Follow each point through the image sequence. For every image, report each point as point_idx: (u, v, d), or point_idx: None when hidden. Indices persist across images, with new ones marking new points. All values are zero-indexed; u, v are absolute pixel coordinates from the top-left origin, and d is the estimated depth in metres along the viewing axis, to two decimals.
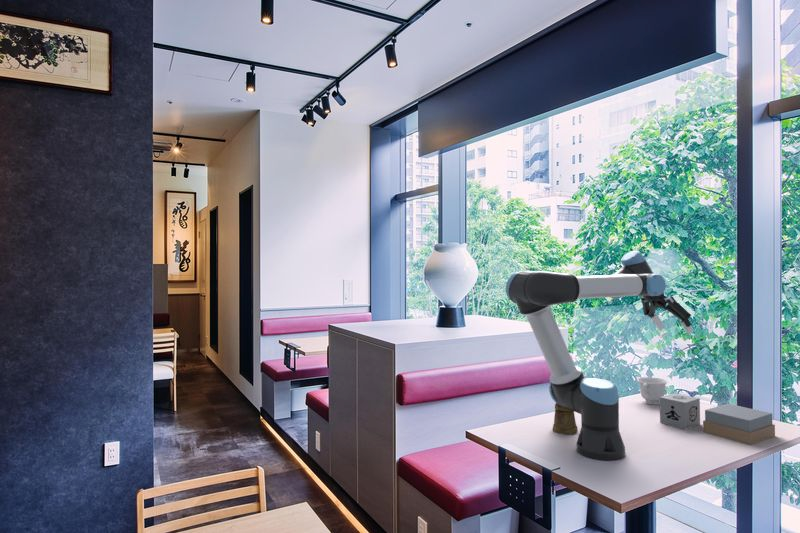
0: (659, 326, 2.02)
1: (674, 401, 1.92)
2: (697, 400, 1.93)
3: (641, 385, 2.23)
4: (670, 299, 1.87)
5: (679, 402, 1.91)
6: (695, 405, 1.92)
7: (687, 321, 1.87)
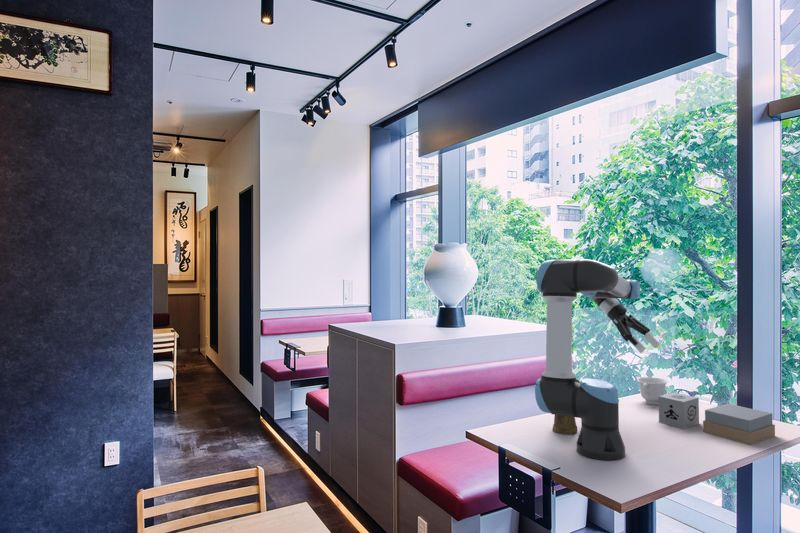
0: None
1: (672, 400, 1.93)
2: (696, 399, 1.94)
3: (641, 385, 2.23)
4: None
5: (677, 401, 1.92)
6: (694, 404, 1.93)
7: None
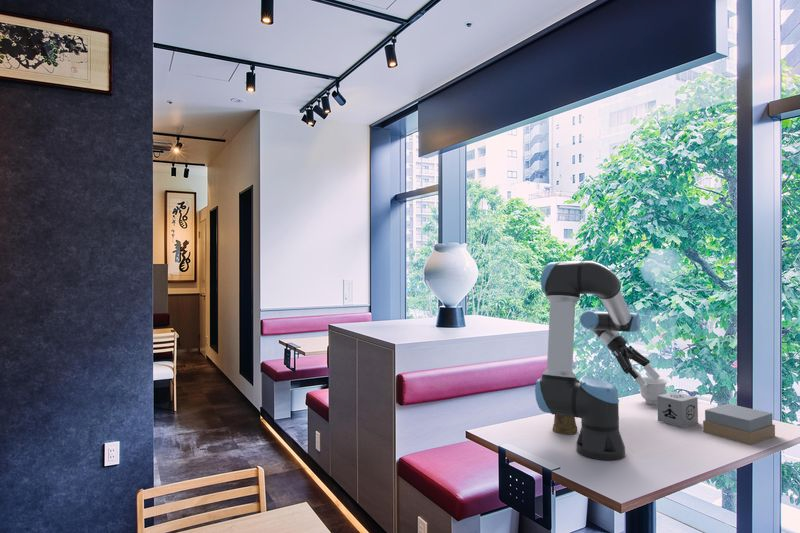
0: None
1: (671, 399, 1.94)
2: (695, 399, 1.95)
3: None
4: None
5: (676, 401, 1.93)
6: (692, 404, 1.94)
7: None
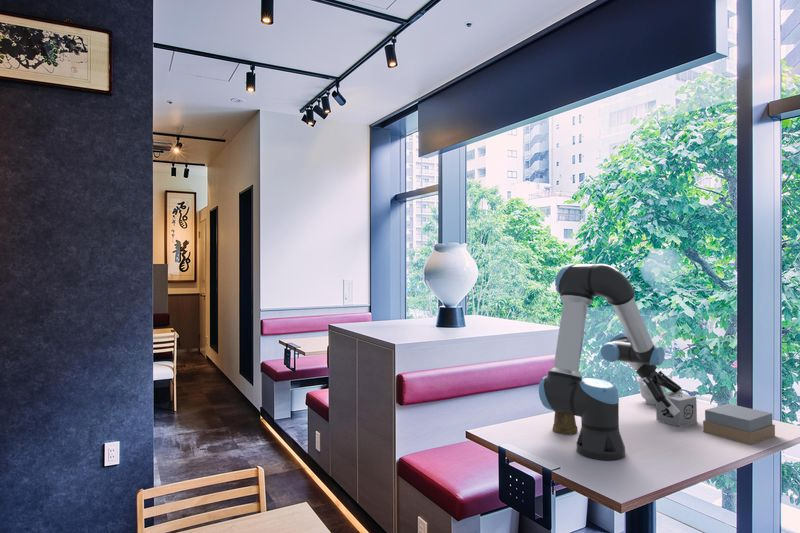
0: None
1: (669, 399, 1.95)
2: (693, 398, 1.95)
3: (641, 385, 2.23)
4: None
5: (673, 400, 1.94)
6: (691, 403, 1.95)
7: None
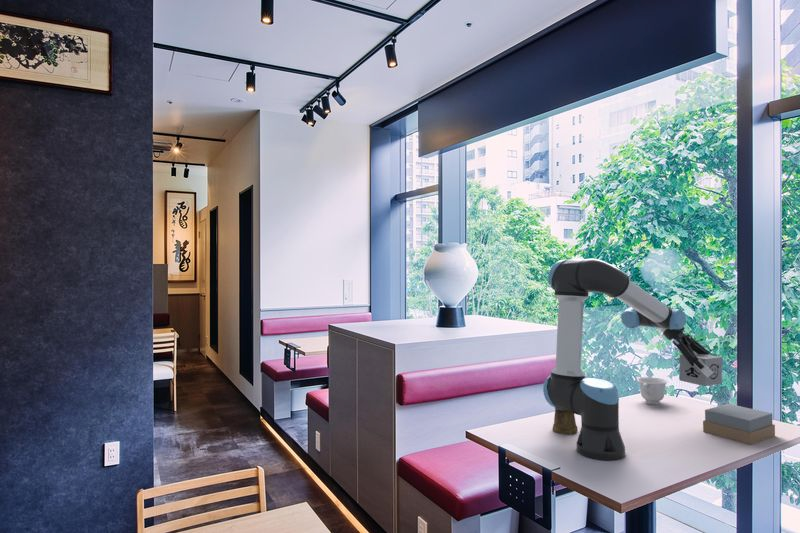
0: None
1: None
2: (719, 359, 1.89)
3: (641, 385, 2.23)
4: None
5: None
6: (717, 363, 1.89)
7: None
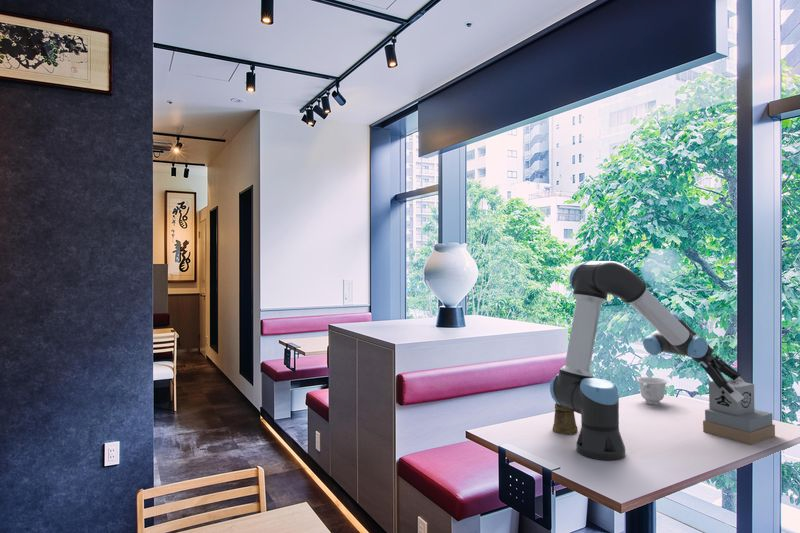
0: None
1: None
2: (751, 386, 1.81)
3: (641, 385, 2.23)
4: None
5: None
6: (748, 391, 1.80)
7: None
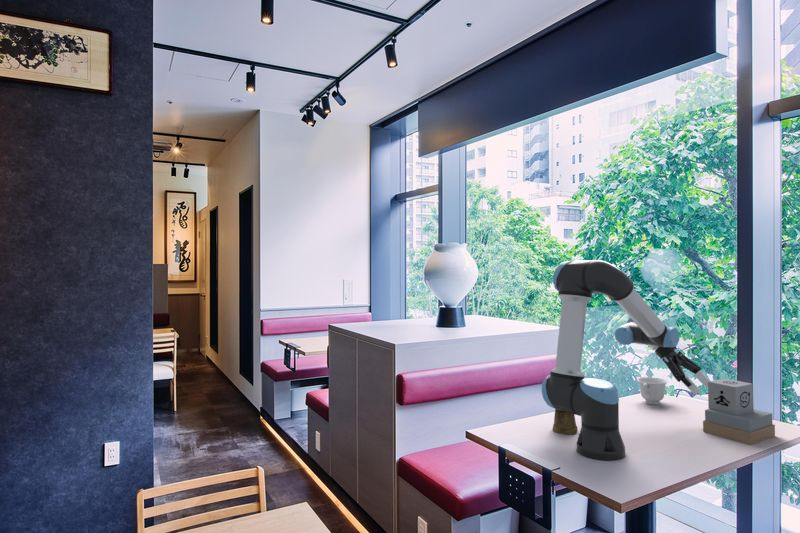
0: None
1: (723, 386, 1.82)
2: (750, 385, 1.81)
3: (641, 385, 2.23)
4: None
5: (729, 387, 1.80)
6: (747, 391, 1.81)
7: None
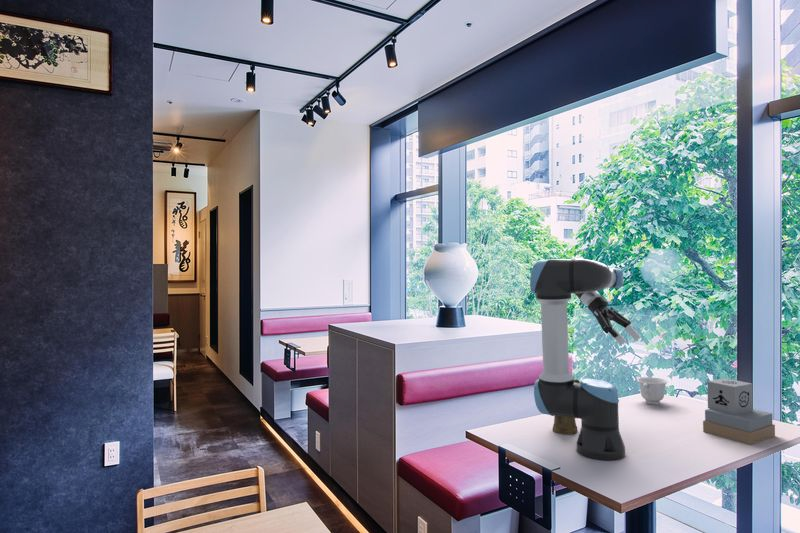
0: None
1: (722, 385, 1.82)
2: (749, 385, 1.82)
3: (641, 385, 2.23)
4: None
5: (728, 386, 1.81)
6: (747, 390, 1.81)
7: None
